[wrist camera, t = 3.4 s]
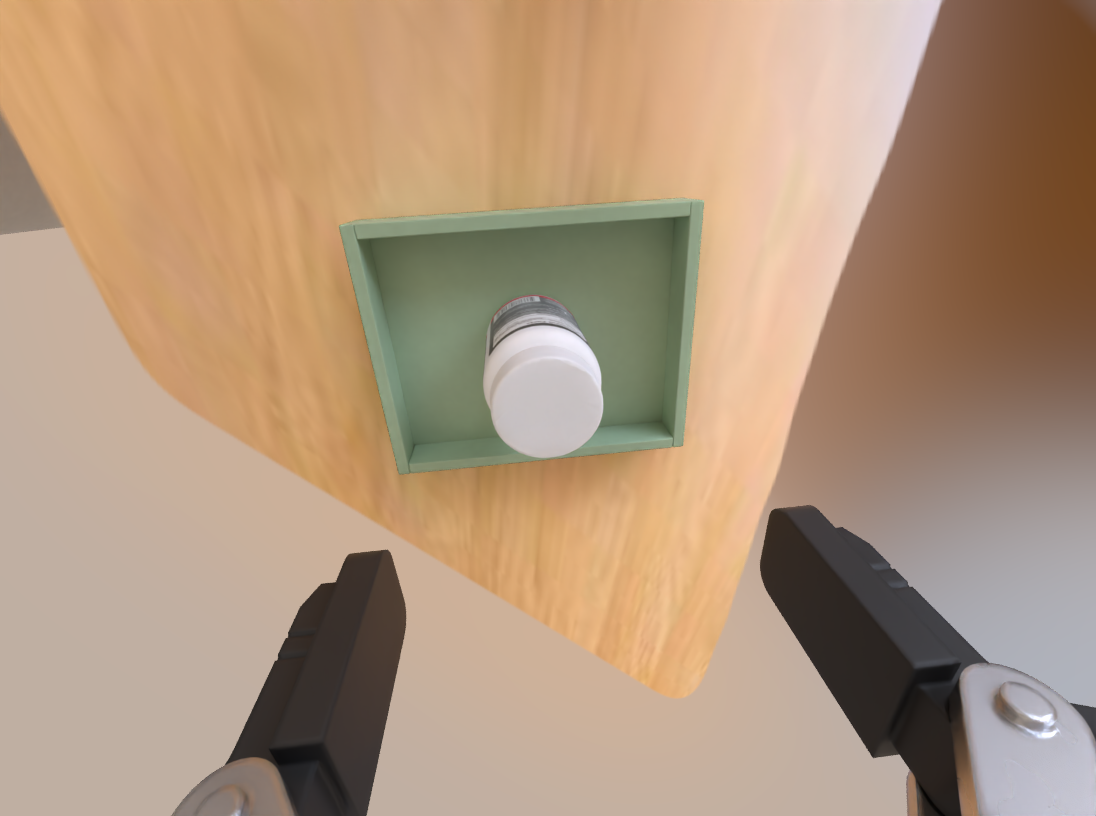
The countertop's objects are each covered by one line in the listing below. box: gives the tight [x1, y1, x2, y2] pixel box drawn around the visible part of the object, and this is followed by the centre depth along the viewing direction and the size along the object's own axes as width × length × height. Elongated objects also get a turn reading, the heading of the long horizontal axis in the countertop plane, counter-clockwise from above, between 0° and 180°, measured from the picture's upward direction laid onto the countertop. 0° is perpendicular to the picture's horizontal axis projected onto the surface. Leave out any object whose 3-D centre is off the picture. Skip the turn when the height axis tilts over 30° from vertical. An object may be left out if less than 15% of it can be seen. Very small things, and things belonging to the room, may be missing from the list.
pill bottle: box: [483, 294, 603, 458], centre depth 20 cm, size 5×5×8 cm
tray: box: [339, 198, 704, 474], centre depth 23 cm, size 15×12×2 cm
